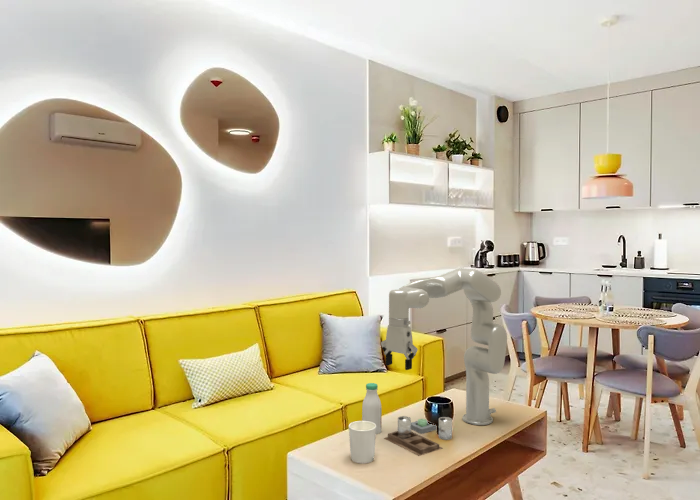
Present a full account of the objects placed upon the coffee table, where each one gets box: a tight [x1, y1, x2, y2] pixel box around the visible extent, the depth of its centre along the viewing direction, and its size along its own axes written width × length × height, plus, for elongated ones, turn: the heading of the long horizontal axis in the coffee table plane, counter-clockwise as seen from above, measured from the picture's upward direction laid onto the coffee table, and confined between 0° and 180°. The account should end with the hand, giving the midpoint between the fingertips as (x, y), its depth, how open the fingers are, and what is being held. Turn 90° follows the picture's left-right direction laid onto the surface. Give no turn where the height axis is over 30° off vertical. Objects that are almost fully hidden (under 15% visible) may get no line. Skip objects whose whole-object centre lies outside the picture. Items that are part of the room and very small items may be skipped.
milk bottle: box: [361, 382, 383, 435], centre depth 216 cm, size 8×8×20 cm
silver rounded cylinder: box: [438, 416, 453, 441], centre depth 209 cm, size 5×5×9 cm
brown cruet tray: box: [383, 430, 444, 457], centre depth 204 cm, size 12×20×3 cm, turn 35°
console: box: [411, 420, 438, 435], centre depth 219 cm, size 8×8×3 cm
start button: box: [417, 418, 427, 427], centre depth 219 cm, size 4×4×4 cm
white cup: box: [348, 420, 377, 464], centre depth 193 cm, size 10×10×12 cm
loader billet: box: [397, 415, 412, 440], centre depth 208 cm, size 5×5×9 cm
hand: (398, 367), depth 206 cm, fingers open, 9 cm apart
